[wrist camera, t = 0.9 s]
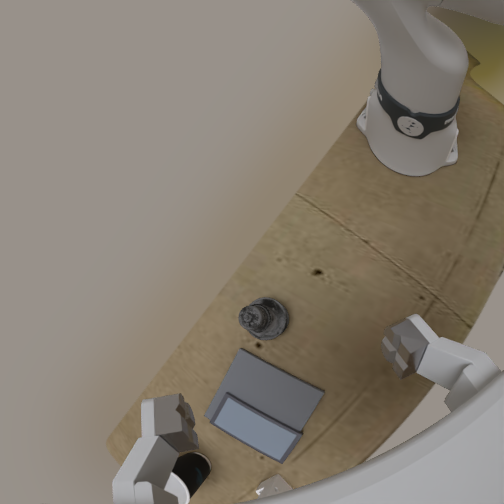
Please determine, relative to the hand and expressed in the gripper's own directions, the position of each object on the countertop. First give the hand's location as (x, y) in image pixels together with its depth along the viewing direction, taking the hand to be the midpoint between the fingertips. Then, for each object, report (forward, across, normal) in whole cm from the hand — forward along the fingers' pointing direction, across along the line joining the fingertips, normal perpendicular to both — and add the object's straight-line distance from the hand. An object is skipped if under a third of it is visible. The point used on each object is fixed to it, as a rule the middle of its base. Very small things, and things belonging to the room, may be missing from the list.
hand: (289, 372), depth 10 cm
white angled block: (+4, +3, +42) cm, 42 cm away
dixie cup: (+12, +15, +41) cm, 45 cm away
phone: (+13, +3, +33) cm, 36 cm away
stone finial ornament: (+25, -4, +22) cm, 33 cm away
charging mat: (+16, +1, +31) cm, 35 cm away
